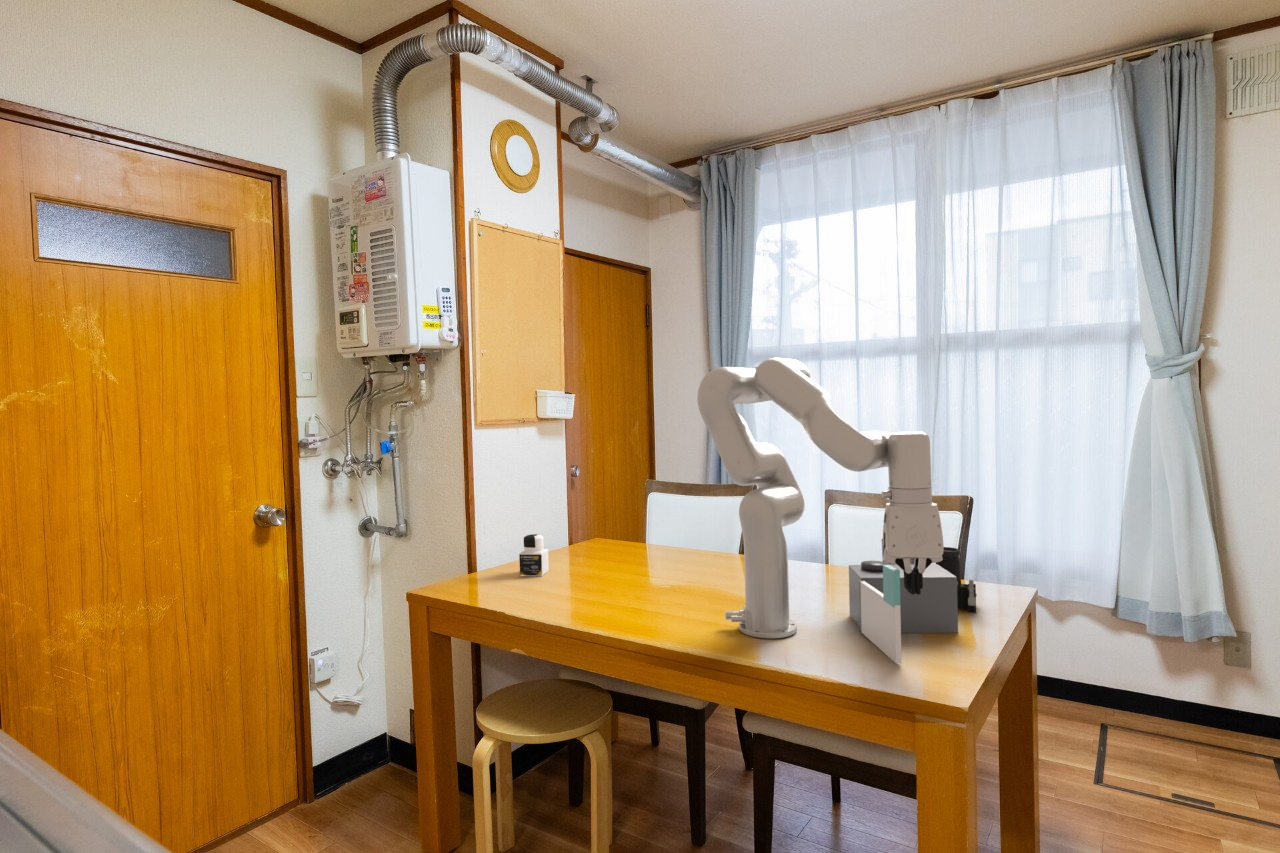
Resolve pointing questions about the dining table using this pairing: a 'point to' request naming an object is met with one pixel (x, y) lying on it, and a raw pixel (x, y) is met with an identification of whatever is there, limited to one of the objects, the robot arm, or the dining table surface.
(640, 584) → the dining table surface
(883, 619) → the side door
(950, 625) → the plain gray box
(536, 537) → the medicine bottle
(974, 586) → the scope
